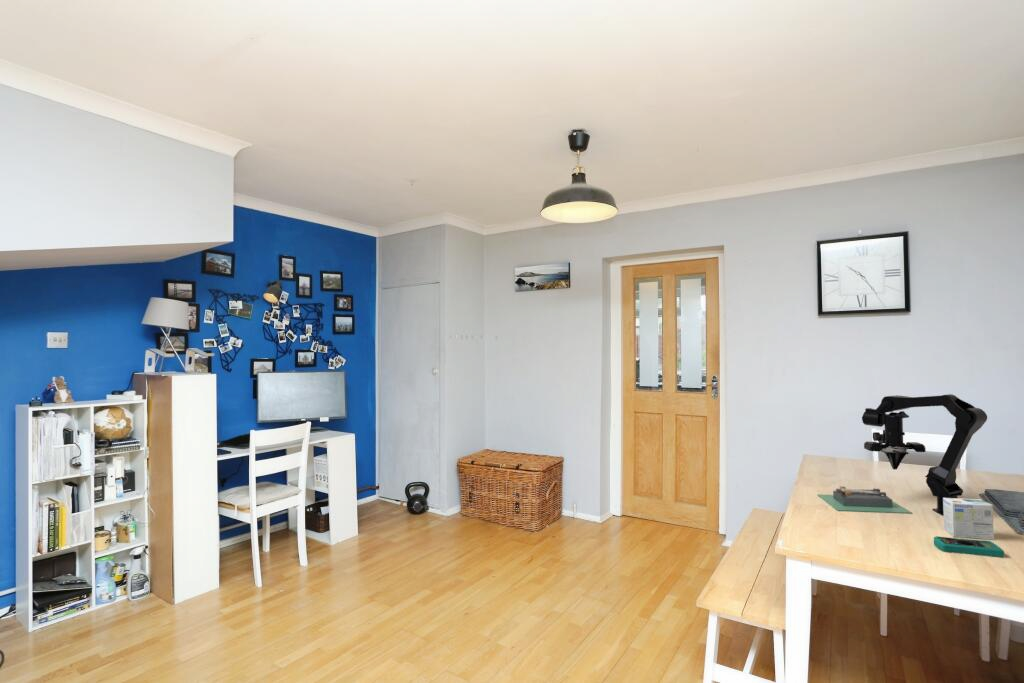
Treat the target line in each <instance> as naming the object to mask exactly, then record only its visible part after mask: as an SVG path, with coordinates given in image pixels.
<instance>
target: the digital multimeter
mask: <svg viewBox="0 0 1024 683" xmlns="http://www.w3.org/2000/svg"><path fill="white" fill-rule="evenodd" d="M933 545H934V547H935V548H937V549H938V550H939V551H941V552H943V553H952V552H953V553H954V552H955V553H954V554H963V553H965V554H966V555H973V554H974V555H975V556H983V557H984V556H985V557H994V558H1004V556H1005V555H1004V553H1005V552H1004V550H1003V549H1002V548H1001V547H1000V546H999V545H997V544H996V543H994V542H993V541H991V540H983V539H970V538H959V537H949V536H948V537H946V536H933ZM965 554H964V555H965Z"/></svg>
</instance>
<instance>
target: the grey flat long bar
mask: <svg viewBox="0 0 1024 683" xmlns="http://www.w3.org/2000/svg"><path fill="white" fill-rule="evenodd" d="M856 489H857V488H855V489H854V488H841V490H842V491H843V492H845V490H851V493H856V494H866V495H875V496H879V493H877V492H875V491H865V490H866V489H862V490H856Z"/></svg>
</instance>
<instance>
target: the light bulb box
mask: <svg viewBox="0 0 1024 683" xmlns="http://www.w3.org/2000/svg"><path fill="white" fill-rule="evenodd" d="M993 506H994V505H993V504H992V503H989V502H987V501H985V500H983V499H980V498H961V497H960V498H943V511H944V515H943V530H944V531H945V532H946V533H947V534H949V535H951V536H952V538H963V539H979V540H983V539H984V540H995V539H994V538H995V537H994V536H995V534H994V531H995V530H994V509H993V508H994V507H993Z"/></svg>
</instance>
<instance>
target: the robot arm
mask: <svg viewBox="0 0 1024 683" xmlns="http://www.w3.org/2000/svg"><path fill="white" fill-rule="evenodd" d="M942 406H943V408H945V409H946V411H947V412H948V413H949V414H950V415H952V416H953V417H954V418H955V422H954V425H955V426H954V427H955V431H954V433H953V435H952V438H951V440H950V442H949V444H948V446H947V448H946V451H945V453H944V454H943V457H942V458H941V461H940V463H939V464H938V465H935V466H932V467H931V466H930V467H929V468H928V473H927V474H926V475H925V476H924V477H925V478H926V480H925V483H926V485H927V487H928V488H929V490H930V491H931V492H930V493H931V494H932V497H936V508H932V511H934V512H936V513H937V514H939V515H941V516H944V511H943V498H958V497H960V496H963V492H964V490H963V489H962V488H961V487H960V486H959V485H958V483H957V481H956V480H957V472H956V471H957V468H958V466H959V464H960V461H961V460H962V458H963V456H964V454H965V452H966V449H967V448H968V446H969V443H970V442H971V439H972V438H973V435H974V434H976V433H977V432H978V431H979V430H980V429H981V428H982V427H983V426H984V424H985V423H986V422H987V421H988V415H987V413H986V412H985V411H984V410H983V409H982V408H978V407H975V405H973V404H971V403H969V402H967V401H965V400H963V399H960V398H959V397H958V396H956V395H954V394H953V393H949V394H942V395H929V396H927V395H926V396H916V397H915V396H907V395H906V396H905V395H888V396H887V395H886V396H884V397H882V399H881V402H880V404H879V405H878V407H877V408H876V409H875V408H871V407H867V408H866V407H865V409H864V410H865V411H864V412H863V414H862V416H861V421H862V424H864V426H865V425H866V426H869V427H870V426H871V427H878V428H879V427H880V428H881V427H884V429H883V430H882V433H880V432H878V431H877V432H872V440H873V441H865V442H864V443H863V449H865V450H867V451H869V452H881V453H884V454H885V455H886V457H887V459H888V462H889V463H890V466H891V469H892V470H898V468H899V466H900V465H901V463H902V461H903V459H904V458H905V457H906V455H909V452H908V450H913V451H914V452H916V453H926V450H927V449H926V446H925V445H924V444H923V443H920V442H917V441H915V442H913V441H910V442H909V441H908V442H904V436H905V435H906V433H905V432H904V426H903V425H904V420H903V419H907V418H910V415H909V414H907V413H906V412H905V411H904V410H908V409H911V408H921V407H922V408H923V407H925V408H926V407H942ZM896 411H899V412H896Z"/></svg>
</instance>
